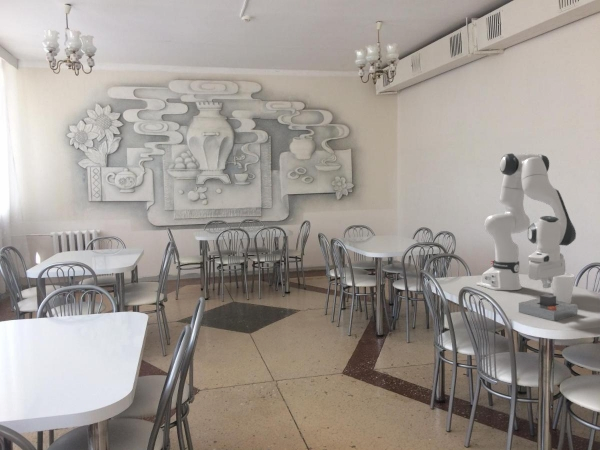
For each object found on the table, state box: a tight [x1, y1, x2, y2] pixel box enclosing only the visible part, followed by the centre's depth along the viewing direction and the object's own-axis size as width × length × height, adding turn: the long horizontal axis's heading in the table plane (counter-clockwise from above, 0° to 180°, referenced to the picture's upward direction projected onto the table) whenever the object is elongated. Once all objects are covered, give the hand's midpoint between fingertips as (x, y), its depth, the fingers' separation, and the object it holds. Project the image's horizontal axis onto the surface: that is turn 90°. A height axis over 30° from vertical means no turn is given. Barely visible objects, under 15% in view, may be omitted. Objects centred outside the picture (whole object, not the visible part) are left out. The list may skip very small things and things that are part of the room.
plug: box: [539, 293, 556, 306], centre depth 204 cm, size 4×4×8 cm
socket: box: [518, 297, 579, 322], centre depth 204 cm, size 16×16×5 cm
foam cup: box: [551, 272, 576, 303], centre depth 219 cm, size 10×9×13 cm
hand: (546, 287), depth 203 cm, fingers closed
